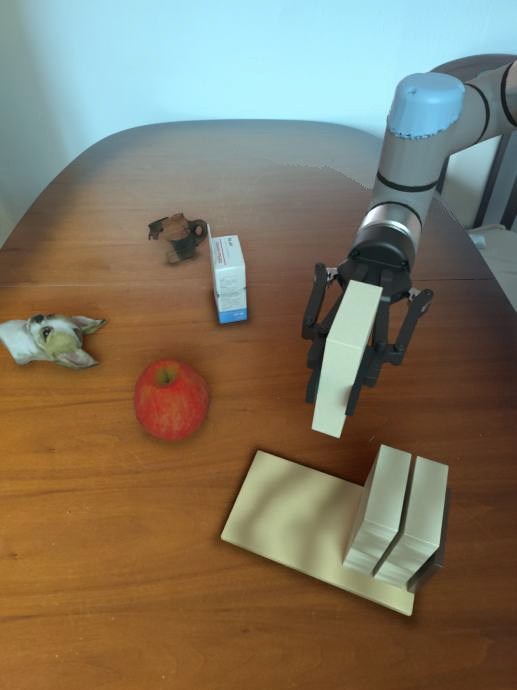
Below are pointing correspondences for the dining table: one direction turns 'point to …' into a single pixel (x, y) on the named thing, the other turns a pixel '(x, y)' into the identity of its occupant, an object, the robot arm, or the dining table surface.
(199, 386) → the apple
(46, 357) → the ceramic sculpture
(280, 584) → the dining table surface
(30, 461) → the dining table surface
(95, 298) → the dining table surface
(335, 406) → the cream book
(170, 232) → the pottery mug
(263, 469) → the book rack
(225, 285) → the ink box
